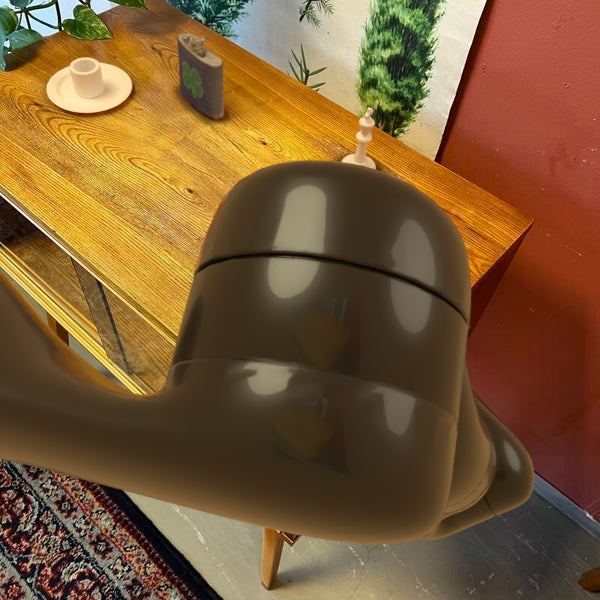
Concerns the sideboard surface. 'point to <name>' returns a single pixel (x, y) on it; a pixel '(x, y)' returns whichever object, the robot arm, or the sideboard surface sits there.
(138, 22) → the sideboard surface
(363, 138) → the chess piece
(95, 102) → the candle holder
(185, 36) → the flask
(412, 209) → the robot arm
